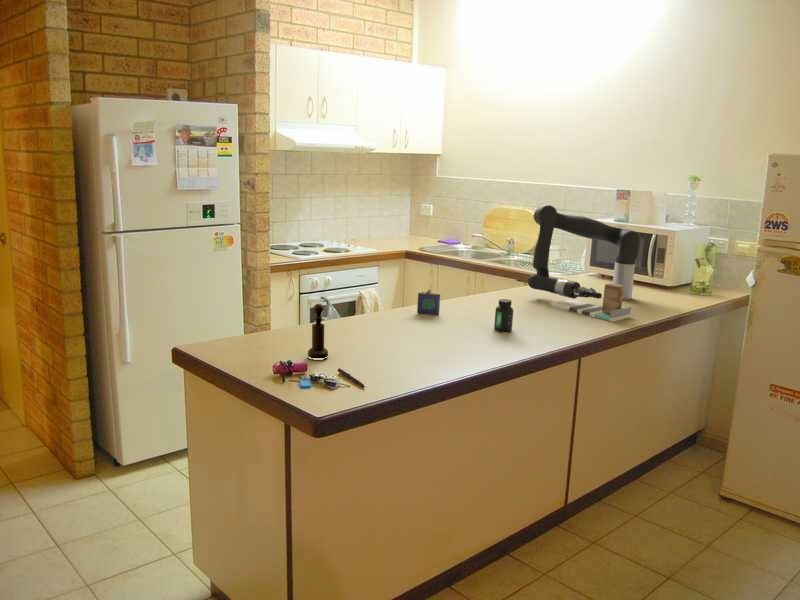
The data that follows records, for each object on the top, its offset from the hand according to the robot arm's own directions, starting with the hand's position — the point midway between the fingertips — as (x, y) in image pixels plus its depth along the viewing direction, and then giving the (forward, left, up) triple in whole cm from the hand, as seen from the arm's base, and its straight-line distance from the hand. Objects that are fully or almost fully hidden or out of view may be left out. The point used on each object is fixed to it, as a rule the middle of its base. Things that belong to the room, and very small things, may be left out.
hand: (600, 296), depth 299 cm
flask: (+66, -38, -8) cm, 77 cm away
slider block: (0, +6, -6) cm, 8 cm away
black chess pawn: (+137, -14, -8) cm, 138 cm away
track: (0, -5, -8) cm, 10 cm away
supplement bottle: (+58, -4, -8) cm, 59 cm away
